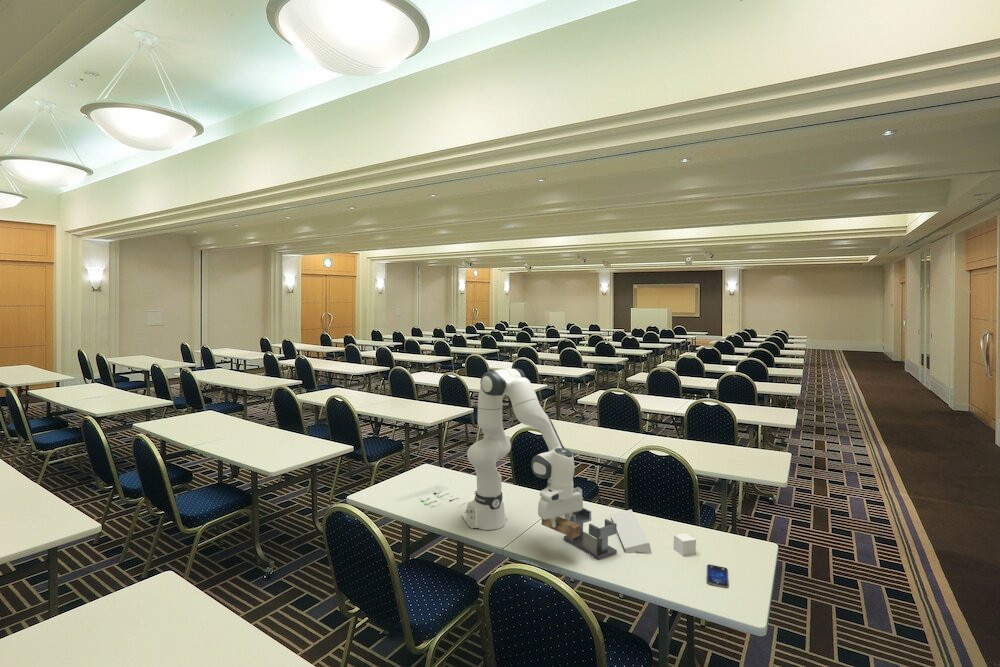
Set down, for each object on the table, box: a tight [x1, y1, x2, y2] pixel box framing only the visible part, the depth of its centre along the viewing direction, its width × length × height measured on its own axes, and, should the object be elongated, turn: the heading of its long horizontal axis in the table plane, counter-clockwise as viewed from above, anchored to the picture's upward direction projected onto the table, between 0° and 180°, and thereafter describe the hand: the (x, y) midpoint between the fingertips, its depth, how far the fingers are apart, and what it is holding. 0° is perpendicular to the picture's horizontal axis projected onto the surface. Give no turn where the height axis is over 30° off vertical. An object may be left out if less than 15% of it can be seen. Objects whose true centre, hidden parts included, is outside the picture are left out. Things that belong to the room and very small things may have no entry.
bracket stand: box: [563, 507, 618, 561], centre depth 210 cm, size 21×10×12 cm, turn 33°
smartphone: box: [705, 564, 730, 589], centre depth 187 cm, size 7×1×15 cm
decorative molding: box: [610, 508, 652, 554], centre depth 222 cm, size 34×5×10 cm
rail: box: [541, 516, 580, 538], centre depth 202 cm, size 16×4×4 cm, turn 45°
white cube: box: [672, 532, 697, 557], centre depth 207 cm, size 6×6×6 cm
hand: (560, 525), depth 202 cm, fingers closed on rail, 4 cm apart
